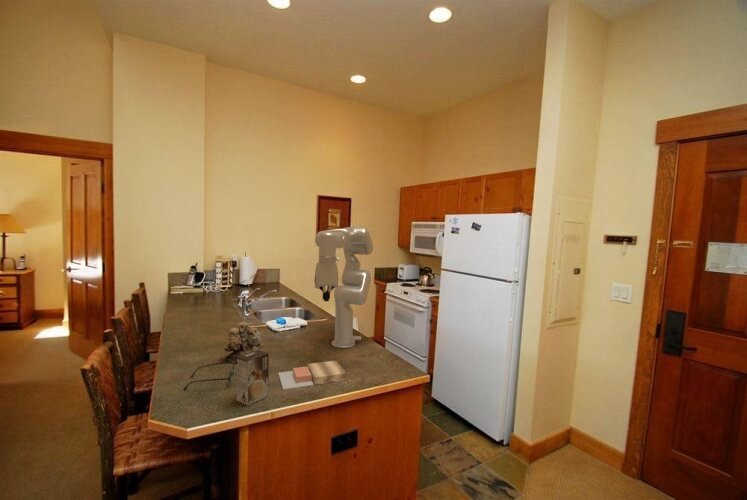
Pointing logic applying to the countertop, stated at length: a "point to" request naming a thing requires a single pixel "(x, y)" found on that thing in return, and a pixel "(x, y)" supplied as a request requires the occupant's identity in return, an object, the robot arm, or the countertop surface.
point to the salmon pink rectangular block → (302, 374)
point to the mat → (291, 381)
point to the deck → (326, 372)
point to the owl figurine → (242, 341)
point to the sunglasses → (215, 379)
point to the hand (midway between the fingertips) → (326, 300)
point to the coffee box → (252, 377)
